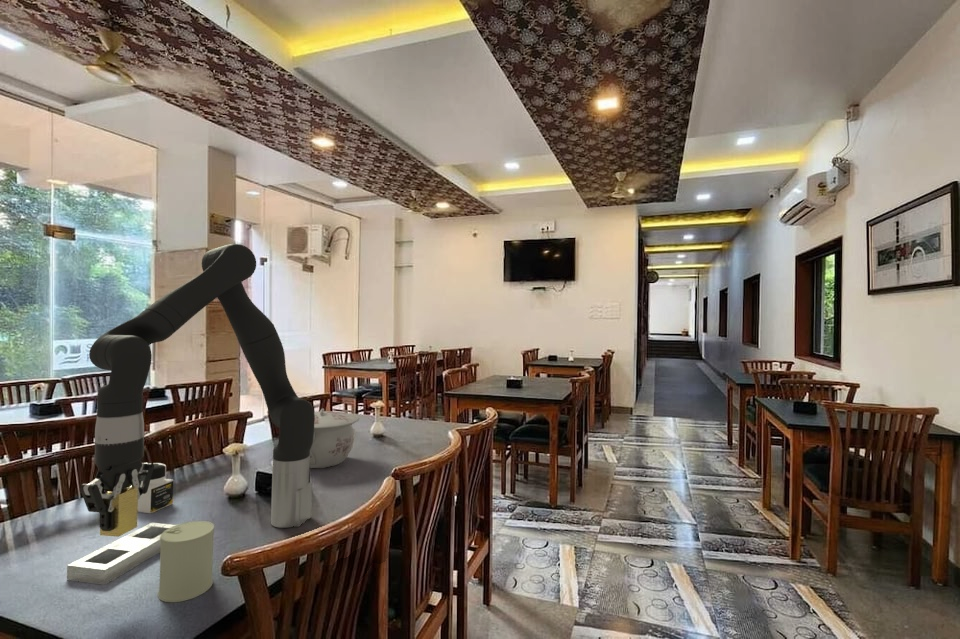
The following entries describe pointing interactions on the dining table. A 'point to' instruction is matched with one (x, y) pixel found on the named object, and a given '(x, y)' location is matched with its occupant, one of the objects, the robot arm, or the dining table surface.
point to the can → (186, 561)
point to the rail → (118, 556)
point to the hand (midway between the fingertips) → (119, 524)
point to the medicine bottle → (156, 491)
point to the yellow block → (124, 512)
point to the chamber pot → (332, 438)
